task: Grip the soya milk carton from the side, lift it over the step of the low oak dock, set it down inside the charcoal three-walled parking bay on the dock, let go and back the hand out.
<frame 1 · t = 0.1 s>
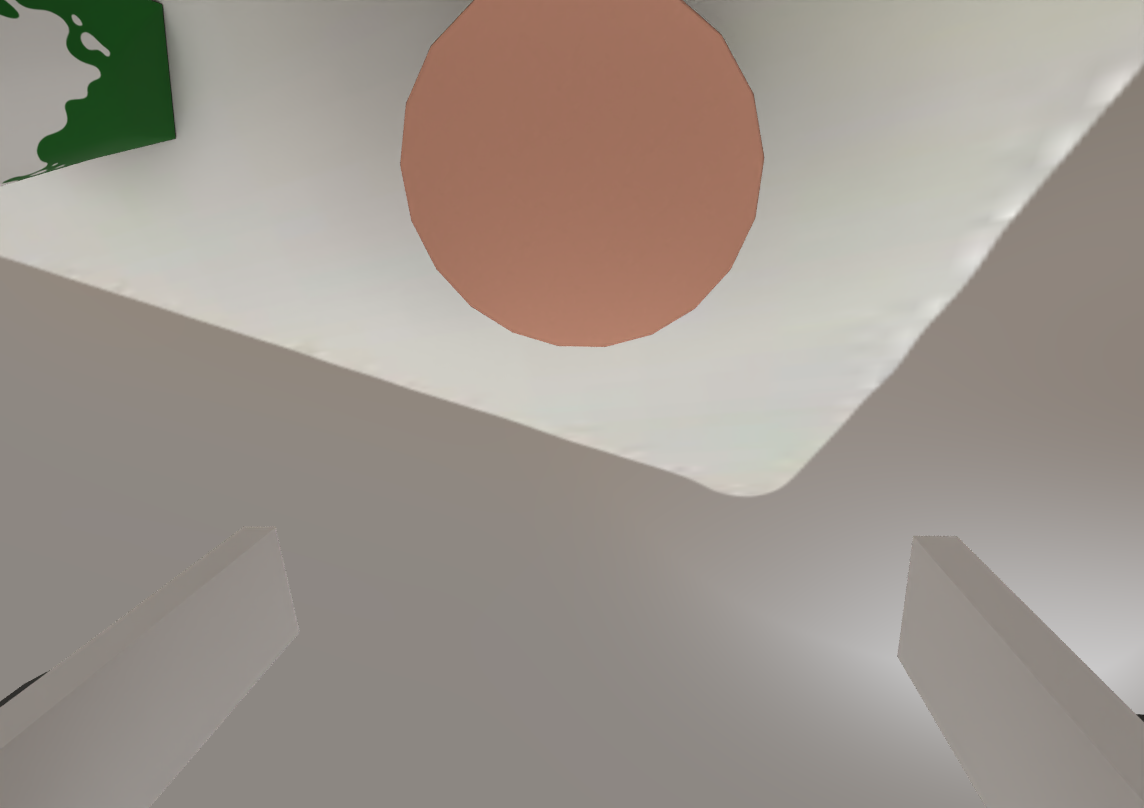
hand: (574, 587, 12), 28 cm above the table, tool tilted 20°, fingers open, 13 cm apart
soya milk: (111, 52, 33), on the table
coffee jar: (608, 99, 31), on the table
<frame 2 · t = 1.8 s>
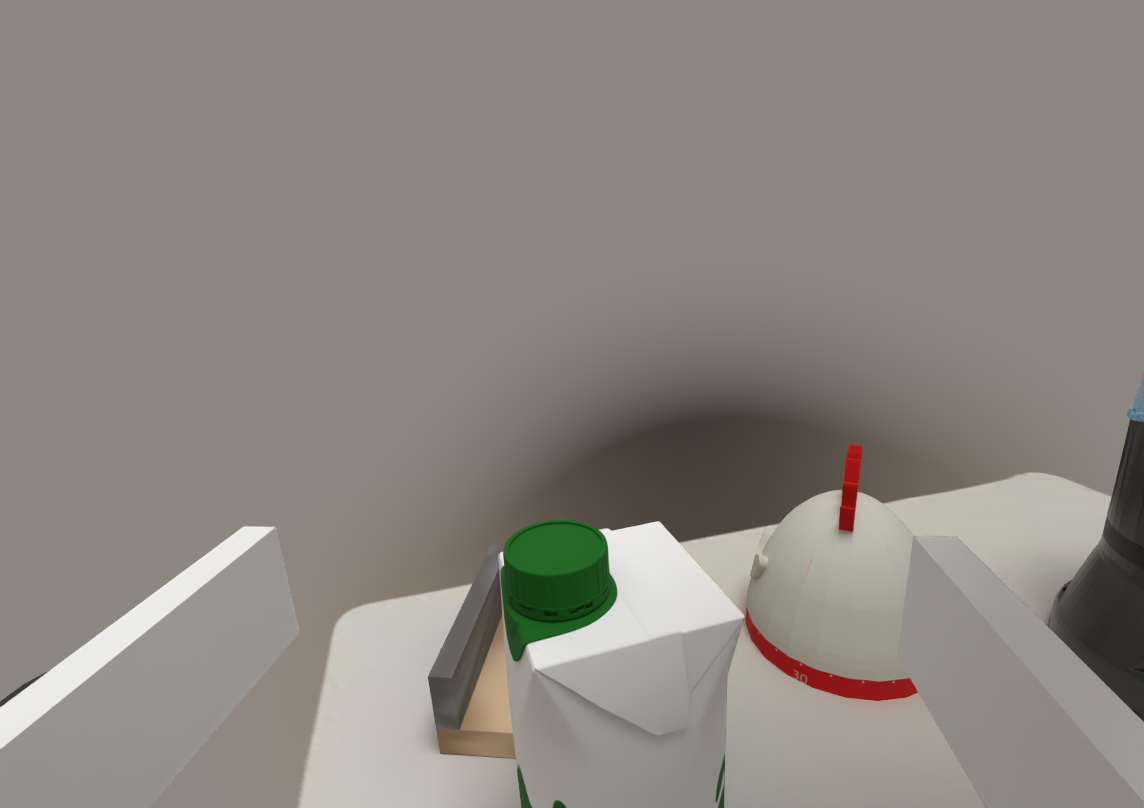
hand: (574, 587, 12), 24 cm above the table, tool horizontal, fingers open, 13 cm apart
kitchen timer: (837, 633, 45), on the table
dock: (578, 671, 42), on the table
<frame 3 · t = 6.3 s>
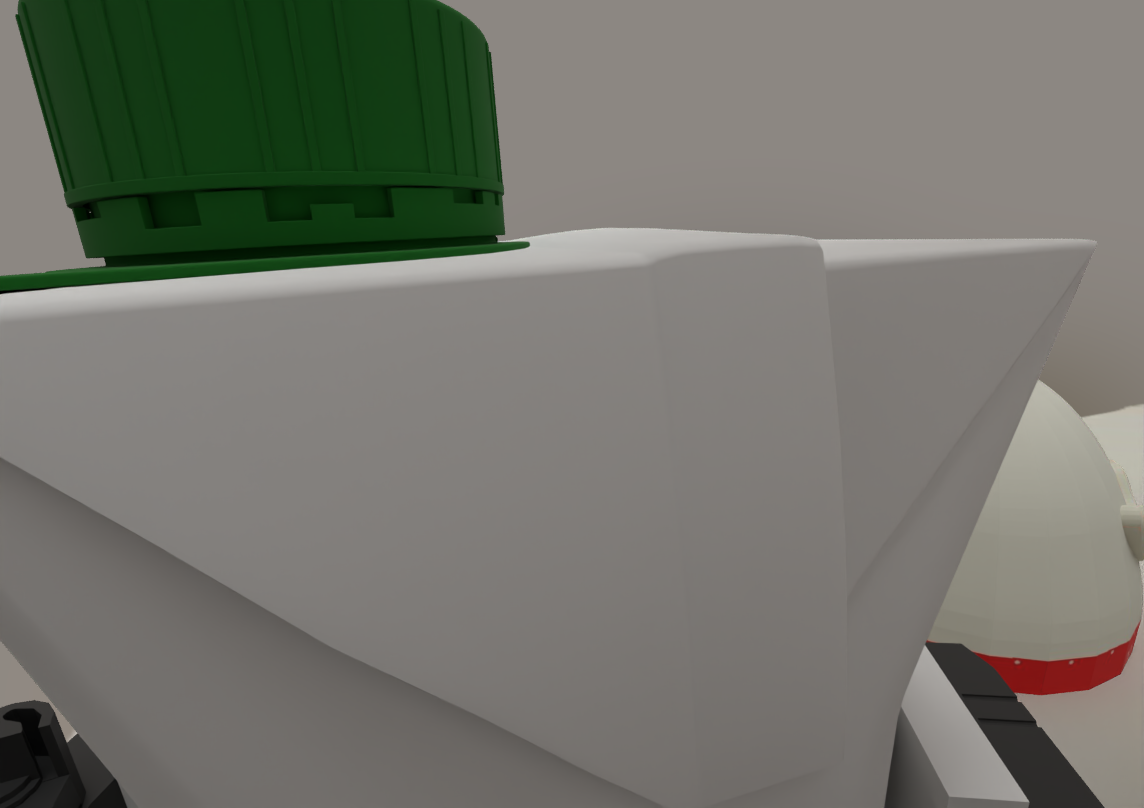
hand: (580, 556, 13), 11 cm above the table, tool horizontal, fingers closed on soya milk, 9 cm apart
kitchen timer: (940, 592, 29), on the table
when the fingers open (14 cm above the table, at t = 11.4 s): soya milk stays where it is, resting on dock.
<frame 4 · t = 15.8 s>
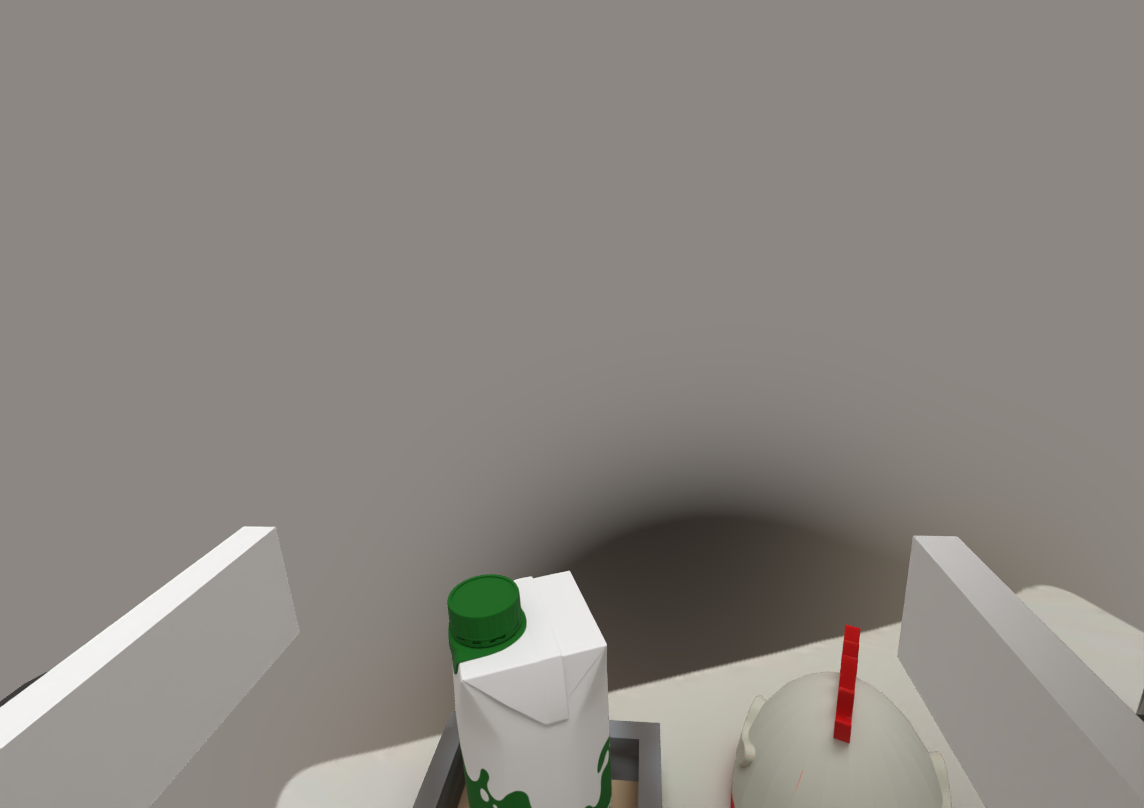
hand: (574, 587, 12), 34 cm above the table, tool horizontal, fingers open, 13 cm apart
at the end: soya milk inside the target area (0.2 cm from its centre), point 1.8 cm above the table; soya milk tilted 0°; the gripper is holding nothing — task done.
